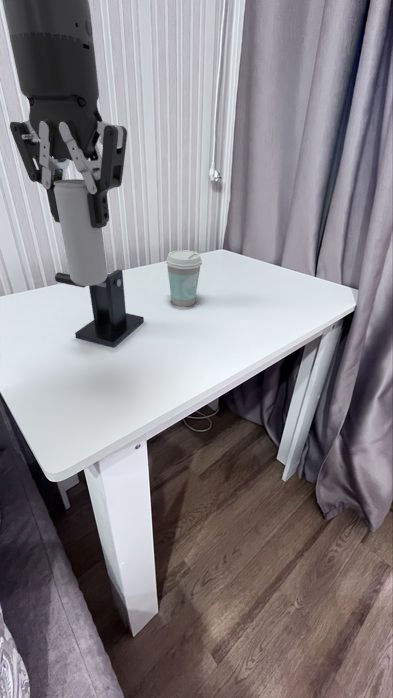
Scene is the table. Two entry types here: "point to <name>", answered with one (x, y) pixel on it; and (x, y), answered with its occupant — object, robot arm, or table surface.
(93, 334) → the bracket
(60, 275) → the lever
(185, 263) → the coffee cup
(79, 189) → the beverage can
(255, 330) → the table surface
